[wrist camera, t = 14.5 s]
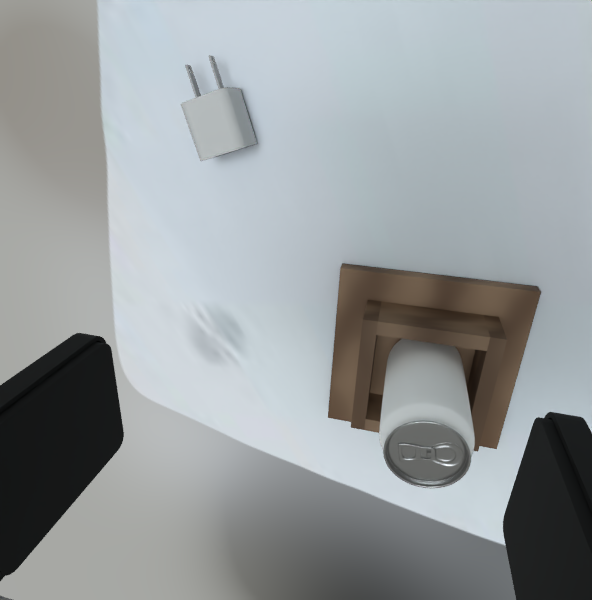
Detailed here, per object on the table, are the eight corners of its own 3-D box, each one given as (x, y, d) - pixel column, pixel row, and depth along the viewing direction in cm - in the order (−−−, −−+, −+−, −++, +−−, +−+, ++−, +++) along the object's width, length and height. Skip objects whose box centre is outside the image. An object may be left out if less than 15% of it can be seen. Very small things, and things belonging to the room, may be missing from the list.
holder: (537, 286, 37) (554, 313, 33) (494, 440, 44) (503, 480, 39) (342, 263, 40) (332, 285, 36) (330, 410, 47) (320, 444, 42)
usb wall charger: (217, 156, 39) (197, 162, 36) (188, 70, 37) (164, 68, 34) (259, 142, 38) (242, 147, 35) (232, 53, 36) (211, 48, 32)
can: (462, 393, 41) (477, 497, 31) (389, 392, 43) (380, 489, 32) (462, 329, 39) (478, 417, 28) (385, 331, 41) (373, 414, 30)
